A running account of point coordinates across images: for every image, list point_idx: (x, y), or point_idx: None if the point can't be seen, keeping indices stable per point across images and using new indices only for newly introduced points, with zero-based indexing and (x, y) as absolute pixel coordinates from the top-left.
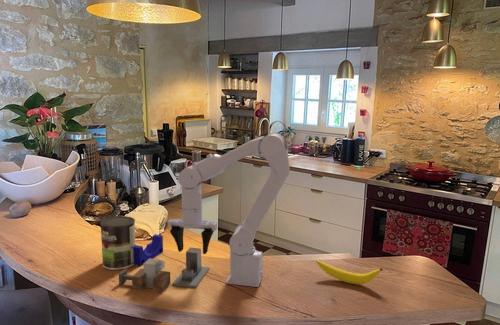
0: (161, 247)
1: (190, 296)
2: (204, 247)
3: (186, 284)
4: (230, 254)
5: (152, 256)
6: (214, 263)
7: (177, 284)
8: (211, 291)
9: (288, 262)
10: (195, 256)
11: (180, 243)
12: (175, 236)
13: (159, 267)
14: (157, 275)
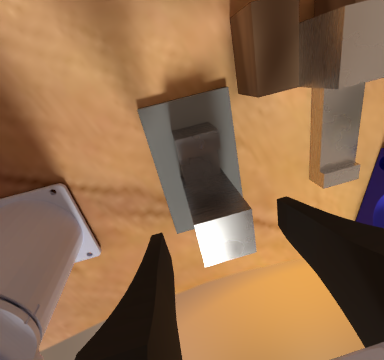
0: None
1: (114, 40)
2: (148, 258)
3: (176, 103)
4: (22, 285)
5: (368, 204)
6: (183, 261)
7: (208, 91)
8: (71, 114)
9: None
10: (199, 212)
11: (305, 229)
12: (374, 236)
13: (313, 70)
14: (294, 36)
